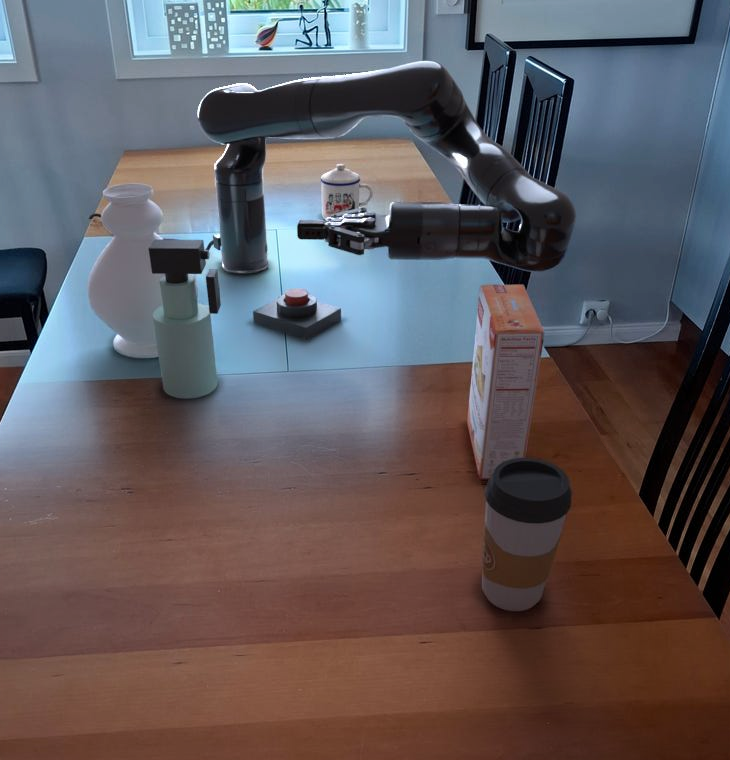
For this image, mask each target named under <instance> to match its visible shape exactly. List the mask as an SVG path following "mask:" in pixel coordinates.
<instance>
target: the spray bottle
mask: <svg viewBox="0 0 730 760" xmlns="http://www.w3.org/2000/svg"><path fill="white" fill-rule="evenodd" d="M148 249H149V256H150V262H151V269H152V274H165V276H164V277H162V278H161V279H160V288H161V296H162V303H163V306H161V307H159V308H157V309H156V310H155V311H154V312H153V315H152V316H153V323H154V330H155V336H156V343H157V349H158V356H159V357H158V362H159V368H160V376H161V381H162V389H163V392H165V393H166V394H167V395H169V396H170V397H172V398H177V399H189V400H190V399H197V398H201V397H203V396H204V397H205V396H207V395H209V394H211V393H212V392H214V391H215V390H216V389H217V387H218V385H219V384H218V383H219V382H218V381H219V380H218V373H217V364H216V353H215V344H214V333H213V325H212V316H211V315H212V314H210V313H209V306H208V305H206V304H205V303H201V302H199V301H198V297H197V294H196V285H195V278H194V276H192V275H190V274H195V275H202V273H203V271H204V270H205V267H206V266H207V262H206V260H209V259H210V250H209V251H208V250H205V243H204V239H179V240H154V241H153V242H152V244H151V245H150V247H149V248H148Z"/></svg>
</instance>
